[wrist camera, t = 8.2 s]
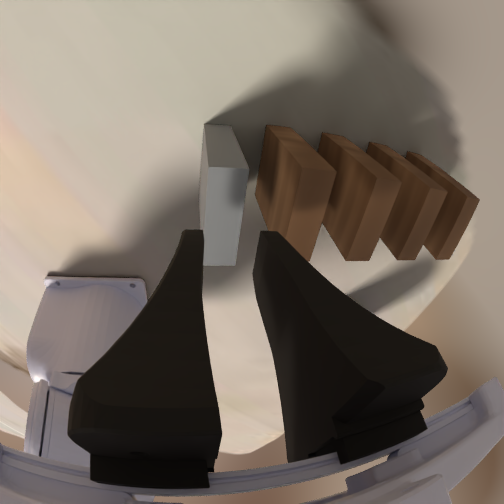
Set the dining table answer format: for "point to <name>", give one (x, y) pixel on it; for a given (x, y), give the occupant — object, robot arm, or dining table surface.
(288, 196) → the walnut tile
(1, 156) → the dining table surface
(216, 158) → the slate head tile
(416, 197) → the walnut tile
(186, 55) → the dining table surface
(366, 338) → the robot arm
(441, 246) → the walnut end tile
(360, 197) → the walnut tile
